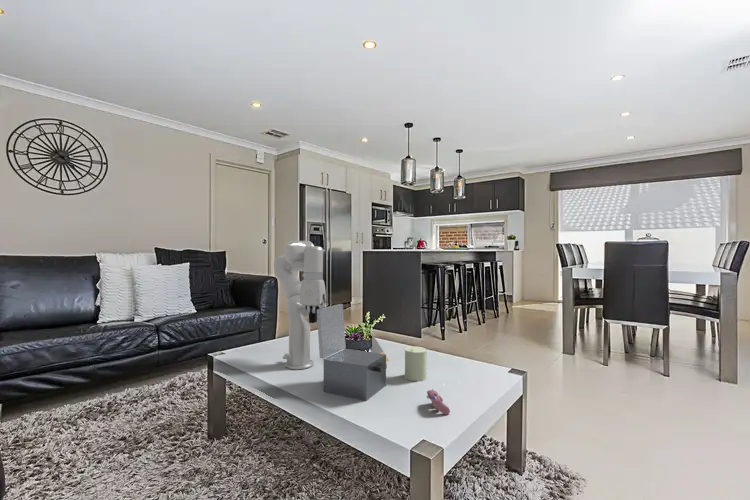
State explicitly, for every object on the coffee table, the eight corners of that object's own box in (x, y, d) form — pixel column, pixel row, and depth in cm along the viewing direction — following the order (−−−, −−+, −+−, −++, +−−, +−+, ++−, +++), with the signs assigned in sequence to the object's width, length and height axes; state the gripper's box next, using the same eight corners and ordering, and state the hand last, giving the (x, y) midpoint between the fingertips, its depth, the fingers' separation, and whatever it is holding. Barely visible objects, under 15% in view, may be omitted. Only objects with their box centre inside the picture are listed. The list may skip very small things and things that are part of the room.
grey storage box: (323, 391, 133) (323, 359, 133) (346, 377, 147) (346, 348, 147) (373, 402, 124) (373, 367, 124) (392, 386, 138) (392, 355, 138)
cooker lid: (323, 358, 133) (316, 358, 135) (345, 348, 148) (339, 347, 149) (319, 309, 134) (313, 309, 135) (342, 303, 148) (336, 304, 150)
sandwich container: (378, 365, 165) (378, 332, 165) (354, 358, 175) (354, 327, 175) (390, 360, 171) (390, 329, 171) (366, 354, 181) (367, 324, 181)
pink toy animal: (431, 406, 124) (422, 389, 124) (443, 400, 125) (434, 382, 124) (439, 420, 114) (429, 401, 114) (451, 413, 115) (442, 394, 115)
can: (399, 377, 148) (400, 348, 148) (413, 371, 155) (413, 344, 155) (418, 383, 142) (418, 352, 142) (431, 377, 149) (431, 348, 149)
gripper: (292, 276, 145) (292, 322, 145) (323, 278, 138) (323, 326, 138) (304, 275, 152) (304, 319, 152) (334, 277, 145) (333, 322, 145)
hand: (313, 322), depth 145 cm, fingers closed
